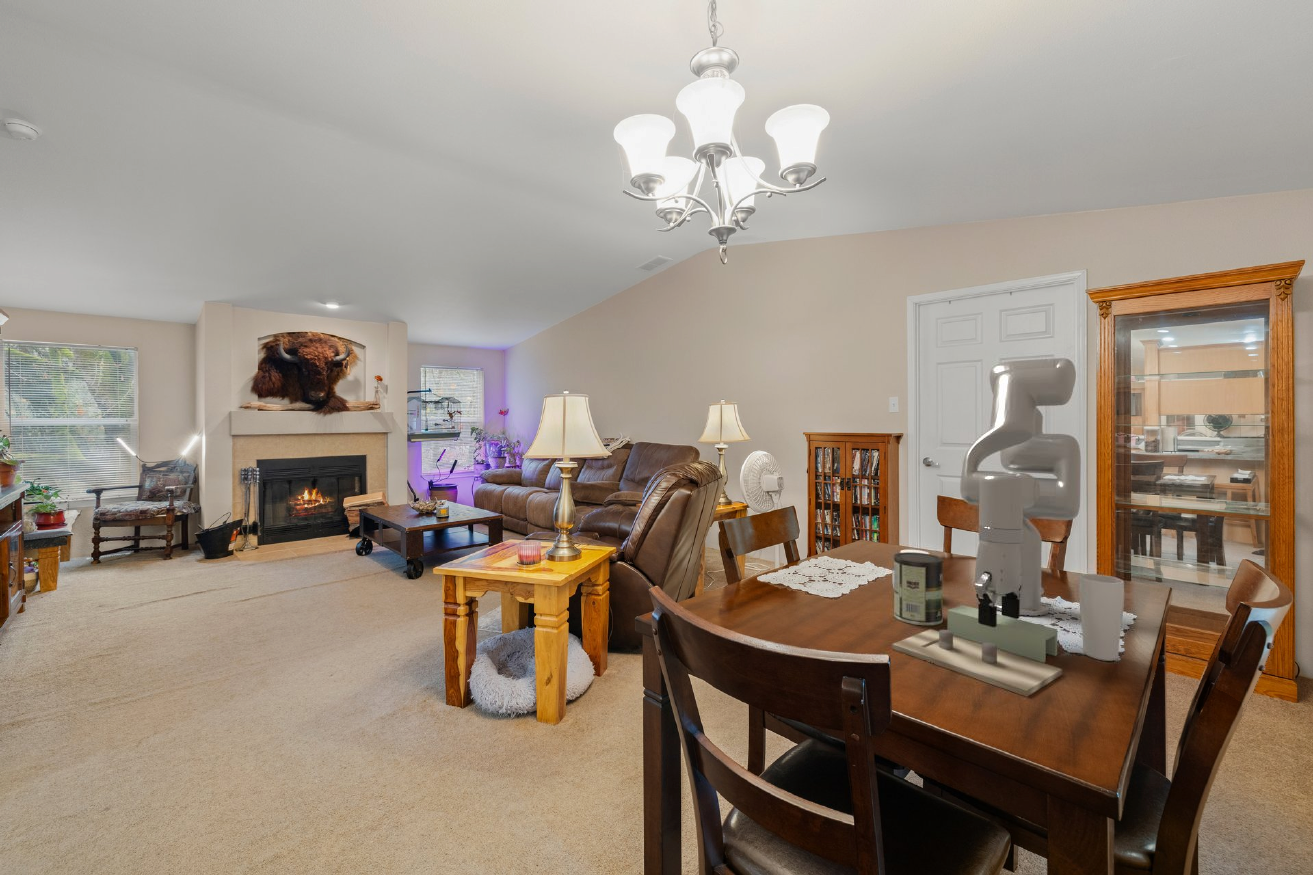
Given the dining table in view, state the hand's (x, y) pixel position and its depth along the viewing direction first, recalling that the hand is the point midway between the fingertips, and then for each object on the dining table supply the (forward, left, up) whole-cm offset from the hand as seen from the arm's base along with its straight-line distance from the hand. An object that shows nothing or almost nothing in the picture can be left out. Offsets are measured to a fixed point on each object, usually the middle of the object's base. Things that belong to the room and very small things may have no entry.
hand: (999, 620), depth 113 cm
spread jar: (-14, -26, -5) cm, 30 cm away
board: (+12, +1, -5) cm, 13 cm away
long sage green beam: (-1, 0, -5) cm, 5 cm away
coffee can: (-2, -18, -5) cm, 19 cm away
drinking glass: (-10, +14, -5) cm, 18 cm away
